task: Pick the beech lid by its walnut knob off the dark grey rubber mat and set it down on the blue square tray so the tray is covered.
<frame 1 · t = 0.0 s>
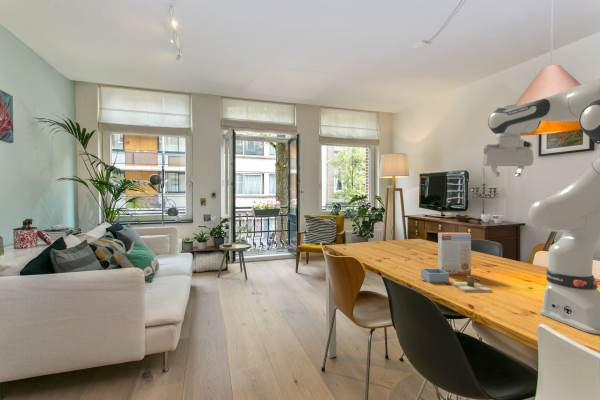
hand: (507, 176, 133), 48 cm above the table, fingers open, 8 cm apart
mat: (470, 288, 131), on the table
blue square tray: (434, 280, 142), on the table
lid: (470, 287, 131), resting on mat
cracker box: (453, 274, 154), on the table
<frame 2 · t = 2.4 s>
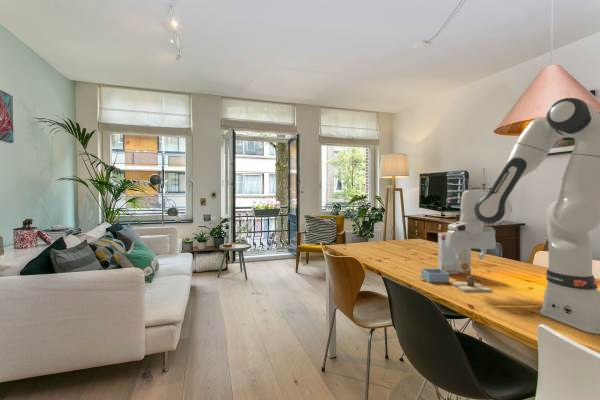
hand: (469, 258, 131), 13 cm above the table, fingers open, 8 cm apart
nothing on the table moved.
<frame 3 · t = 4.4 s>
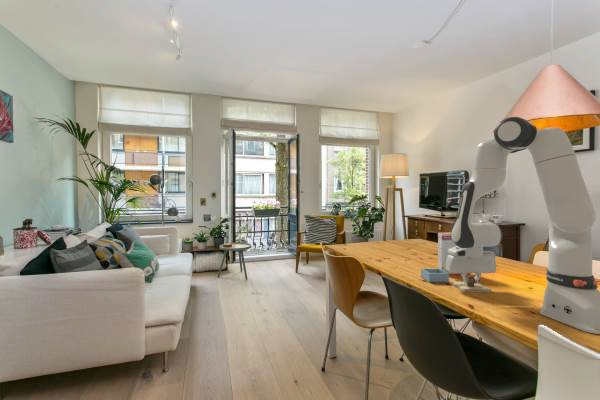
hand: (470, 283, 131), 2 cm above the table, fingers closed on lid, 3 cm apart
lid: (470, 287, 131), resting on mat, touching gripper
everything else where it was.
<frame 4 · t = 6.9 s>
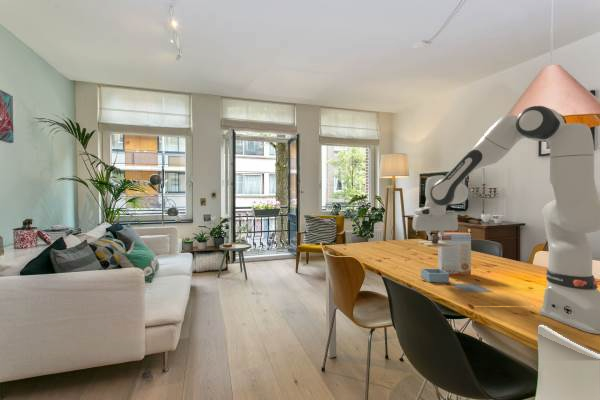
hand: (434, 240, 142), 19 cm above the table, fingers closed on lid, 3 cm apart
lid: (434, 244, 142), point 17 cm above the table, touching gripper
everything else where it was.
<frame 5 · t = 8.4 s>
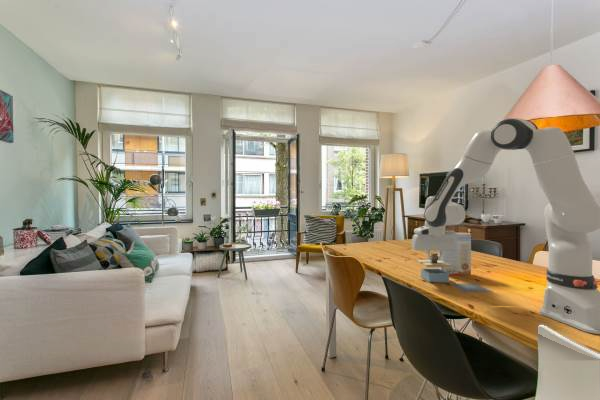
hand: (434, 259, 142), 10 cm above the table, fingers closed on lid, 3 cm apart
lid: (434, 264, 142), point 8 cm above the table, touching gripper
everything else where it was.
when the fingers open (8 cm above the table, at t = 9.5 s): lid drops 1 cm, resting on blue square tray.
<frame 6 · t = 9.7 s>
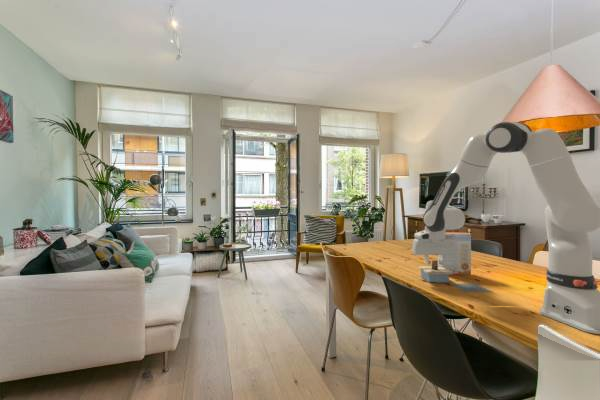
hand: (434, 264, 142), 8 cm above the table, fingers open, 5 cm apart
lid: (434, 271, 142), point 4 cm above the table, touching blue square tray
everything else where it was.
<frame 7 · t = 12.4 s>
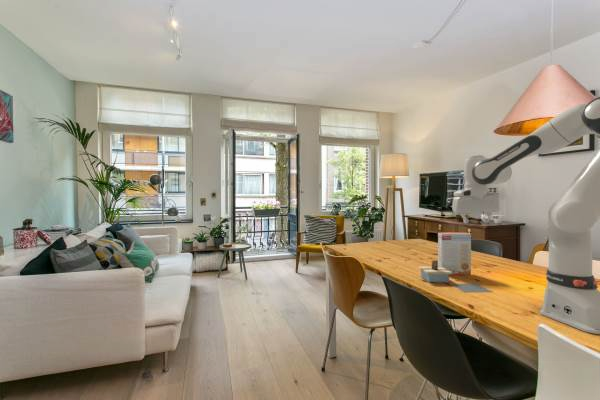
hand: (476, 222, 139), 27 cm above the table, fingers open, 8 cm apart
nothing on the table moved.
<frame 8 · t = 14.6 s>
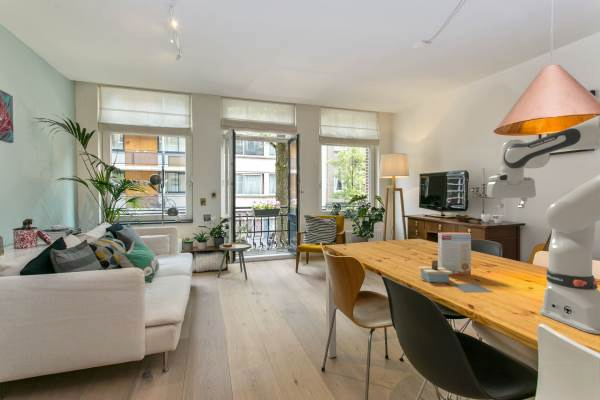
hand: (510, 208, 137), 34 cm above the table, fingers open, 8 cm apart
nothing on the table moved.
at the end: lid 0.0 cm off-centre on the blue square tray, point 4.5 cm above the blue square tray's base; lid tilted 0°; the gripper is holding nothing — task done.
